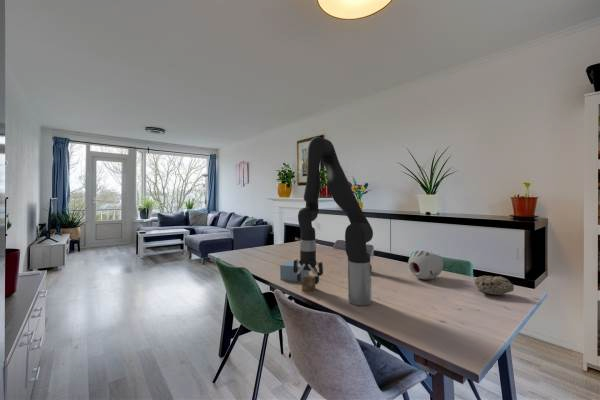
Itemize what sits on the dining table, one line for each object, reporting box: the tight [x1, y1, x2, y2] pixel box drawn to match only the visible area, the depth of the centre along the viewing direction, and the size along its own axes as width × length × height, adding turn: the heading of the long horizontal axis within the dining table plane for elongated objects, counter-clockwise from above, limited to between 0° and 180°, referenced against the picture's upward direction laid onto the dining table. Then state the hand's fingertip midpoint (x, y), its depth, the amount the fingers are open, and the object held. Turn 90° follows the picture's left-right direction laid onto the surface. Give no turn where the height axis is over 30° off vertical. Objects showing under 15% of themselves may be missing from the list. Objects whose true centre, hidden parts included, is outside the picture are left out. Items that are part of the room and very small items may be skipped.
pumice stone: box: [473, 275, 515, 296], centre depth 119 cm, size 14×12×8 cm
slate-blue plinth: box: [279, 259, 310, 283], centre depth 148 cm, size 12×12×8 cm
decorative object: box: [408, 250, 445, 280], centre depth 143 cm, size 15×19×15 cm
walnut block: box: [301, 274, 316, 293], centre depth 130 cm, size 5×5×6 cm
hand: (308, 282), depth 130 cm, fingers open, 8 cm apart
